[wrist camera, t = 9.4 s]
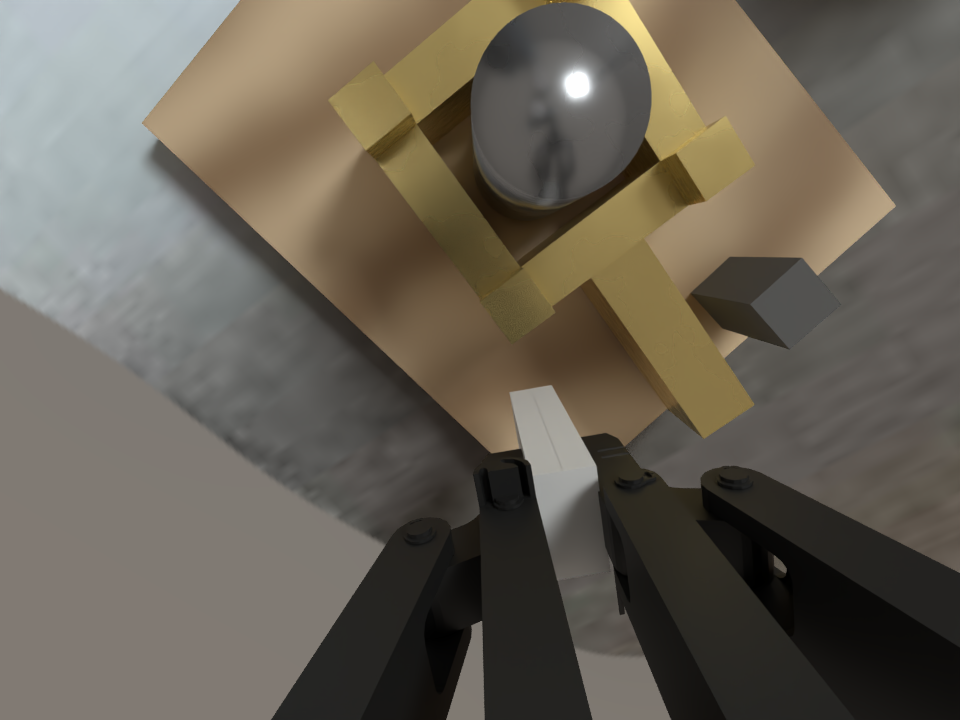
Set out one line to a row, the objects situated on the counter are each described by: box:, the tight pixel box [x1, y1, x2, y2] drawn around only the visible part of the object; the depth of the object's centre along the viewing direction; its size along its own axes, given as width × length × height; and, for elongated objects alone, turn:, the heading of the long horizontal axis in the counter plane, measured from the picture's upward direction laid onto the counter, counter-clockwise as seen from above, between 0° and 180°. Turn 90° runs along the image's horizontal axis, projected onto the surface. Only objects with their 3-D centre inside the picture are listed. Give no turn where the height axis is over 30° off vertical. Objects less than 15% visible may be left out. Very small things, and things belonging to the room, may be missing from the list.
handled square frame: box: [328, 0, 755, 439], centre depth 17 cm, size 15×8×5 cm, turn 37°
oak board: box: [142, 0, 896, 453], centre depth 19 cm, size 22×18×1 cm
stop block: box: [691, 257, 841, 349], centre depth 18 cm, size 2×2×4 cm
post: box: [471, 2, 652, 221], centre depth 15 cm, size 4×4×9 cm
